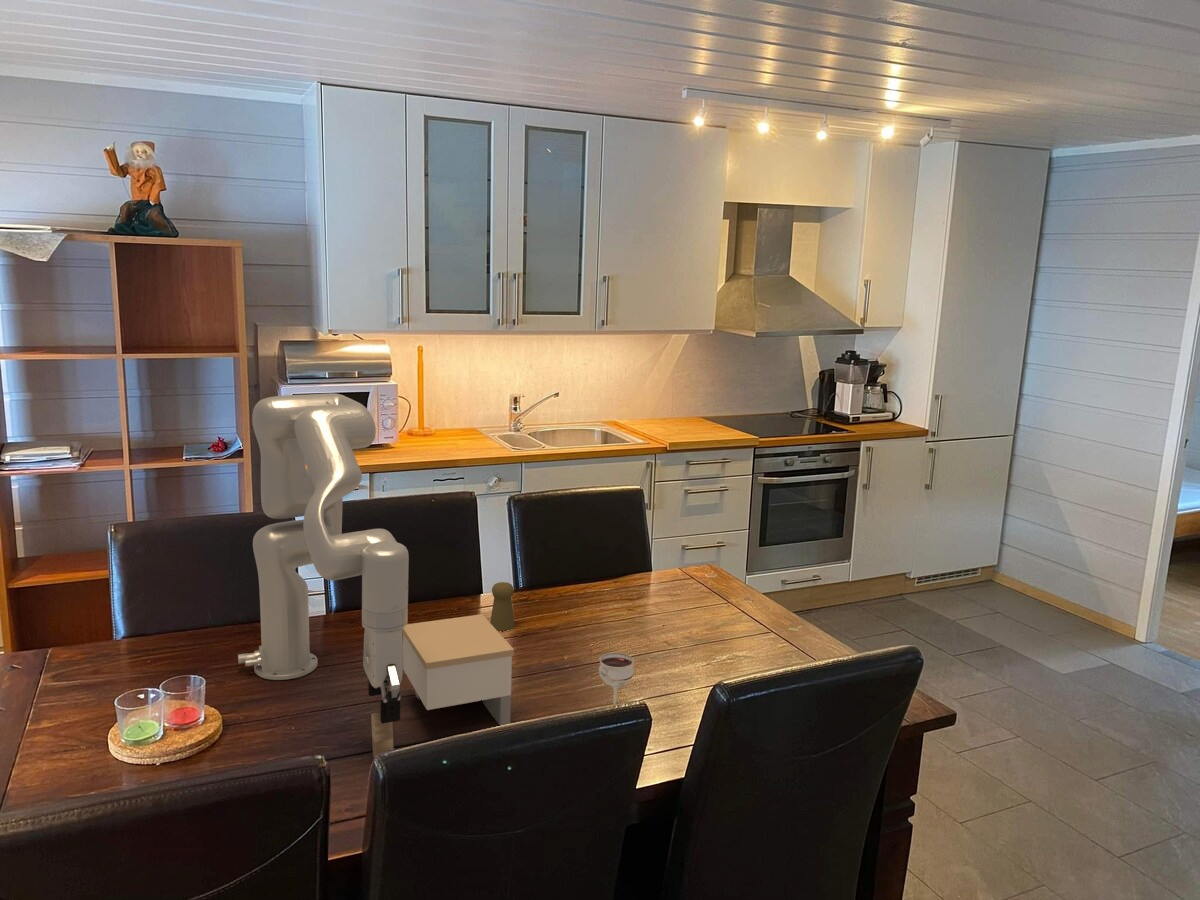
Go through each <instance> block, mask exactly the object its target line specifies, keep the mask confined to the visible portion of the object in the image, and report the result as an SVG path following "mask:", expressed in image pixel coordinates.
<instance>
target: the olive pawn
mask: <svg viewBox="0 0 1200 900" xmlns="http://www.w3.org/2000/svg"><path fill="white" fill-rule="evenodd" d="M514 592H515V590H514V586H513V584H511V583H510V582H507V581H505V582H504V581H499V582H497V583H495V584H493V586H492V588H491V593H492V596H493V602H492V609H491V616H490V621H489V622H490V623H491V625H492V626H493V627H494V628H495V629H496V630H497V631H507V630H511V629H513V628H514V627H516V626H515V619H514V611H513V610H514V609H513V600H512V597H513V596H514ZM514 629H515V628H514ZM514 629H513V630H514ZM511 631H512V630H511Z"/></svg>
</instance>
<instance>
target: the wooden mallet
mask: <svg viewBox="0 0 1200 900" xmlns="http://www.w3.org/2000/svg"><path fill="white" fill-rule="evenodd" d="M370 716H371V718H370V719H371V739H372V740H371V741H372V747H371V748H372V757H374V756H376V755H377V754H379V753H381V752H385V751H389V750H393V749H394V727H393V725H394V724H393V722H389V723H381V721H380V711H379V712H374V713H371V714H370Z"/></svg>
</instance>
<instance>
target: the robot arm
mask: <svg viewBox="0 0 1200 900" xmlns="http://www.w3.org/2000/svg"><path fill="white" fill-rule="evenodd" d="M251 419H252V420H251V421H252V428H253V432H254V435H255V437H256V441H257V444H258V447H259V452H260V500H261V509H262V511H263V513H264V514H265V515H266V516H267V517H268V518H271V519H275V520H276V519H277V520H283V519H285V520H286V519H292V518H300V517H303V518H302V519H298V520H297V519H294V520H288V521H283V522H282V521H281V522H276V523H271V524H267V525H265V526H263V527H262V528H260V529H258V530H257V531H256V532H255V534H254V536H253V538H252V549H253V551H252V552H253V555H254V559H255V564H256V569H257V574H258V585H259V587H258V589H259V610H260V633H261V634H260V636H261V637H260V638H261V639H260V640H261V645H259V646H258V649H257V650H254V651H253V652H250V653H240V654H239V653H238V654H237V659H238V660H237V662H238V665H240V664H241V665H242V664H244V665H245V667H251V666H252V667H254V669H253V670H254V673H255V674H256V676H258V677H259V678H262V679H265V680H271V681H285V680H291V679H298V678H301V677H303V676H307V675H309V674H310V673H312V672H313V671H315V669H316V668H317V667H318V658H317V656H316V655H315V654H314V653H311V651H310V649H311V648H310V647H311V646H310V615H309V614H310V613H309V612H310V611H309V608H310V607H309V605H310V603H309V587H308V584H307V581H306V580H305V579H304V578H303V577H302V576H301V575H300V574H299V573H298V572H297V571H296V569H297V568H299V567H303V566H309V565H313V566H314V568H315V570H316V572H317V573H318V575H319V576H320V577H322V578H323V579H325V580H327V581H338V580H339V581H340V580H345V579H348V578H349V579H350V578H353V577H354V578H355V577H359V576H361V579H362V580H361V625H362V628H364V633H363V636H364V637H363V652H362V653H363V654H362V655H363V658H362V666H363V670H364V672H365V674H366V676H367V679H368V681H367V682H368V686H367V687H368V691H367V692H368V696H369V697H373V696H381V697H382V700H381V699H380V704H379V705H380V707H379V708H380V711H379V712H380V721H381V723H389V722H398V721H400V720H401V691H400V688H401V687H400V686H401V684H402V682H403V676H404V675H403V672H404V670H403V633H402V628H404V627H405V626H406V625H407V624H408V620H409V619H408V618H409V617H408V614H409V613H408V612H409V609H408V608H409V607H408V606H409V604H408V603H409V561H410V560H409V550H408V549H407V546H405V545H404V544H402V543H400V542H397V540H396V538H395V537H394V536H393V534H392V533H391V532H390V531H389V530H387V529H385V528H371V529H366V530H359V531H352V532H345V533H343V532H342V531H343V530H342V528H343V498H344V497H346V496H348V495H349V494H350V493H352V492H354V490H356V489H357V488H358V486H360V484H361V482H362V480H363V474H362V471H361V468H360V466H359V463H358V461H357V457H356V455H355V453H354V450H356V449H365V448H368V447H370V446H371V445H372V444H373V442H374V441H375V438H376V433H377V431H376V430H377V429H376V423H375V419H374V417H373V416H372V414H371V411H370V410H368V408H367V407H366V406H365V405H363V404H362V403H361V402H358V401H356V400H354V399H352V398H350V397H347V396H345V395H343V394H340V393H333V392H332V393H330V392H329V393H314V394H312V393H311V394H310V393H309V394H289V395H288V394H287V395H286V394H285V395H277V396H276V395H275V396H268V397H266V398H263V399H260V400H259V401H258V402H257V403H256V404H255V406H254V407H253V411H252V415H251ZM388 688H389V691H388Z"/></svg>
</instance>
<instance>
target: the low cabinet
mask: <svg viewBox="0 0 1200 900" xmlns="http://www.w3.org/2000/svg"><path fill="white" fill-rule="evenodd" d="M402 639H403V642H402V643H403V672H404V674H405V676H407V679H408V680H409V682H410V683H411V685H412V687H413V689H414V691H415V696H416V698H418V699H419V700H421V702H422V704H423V706H424V708H425V710H427V711H430V710H431V711H432V710H435V709H440V708H447V707H451V706H452V707H453V706H457V705H463V704H469V703H474V702H479V701H481V700H482V701H481V702H482V703H483V706H485V707H486V709H487V710H488V711H489V714H491V716H492V717H493V719H494V718H495V719H494V721H496V723H497V724H498V725H499V726H500V725H502V724H506V723H510V724H511V711H512V710H511V708H512V707H511V706H512V672H513V671H512V667H513V666H512V665H513V664H512V663H513V661H512V660H513V659H512V657H513V656H515V648H513V647H512V646H511V644H510V643H509V642H508V641H507V640H506V639H505V638H504V637H503V635H501V632H498V631H497V630H496V629H495V628H494V627H493V626H492V625H491V623H490V621H489V620H488V619H487V618H486V617H485V616H484V614H483V613H481V614H480V613H479V614H473V615H466V616H460V617H452V618H444V619H437V620H431V621H429V620H428V621H421V622H414V623H407V625H406V626H405V627H404V628H402ZM418 699H417V700H418Z"/></svg>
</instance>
